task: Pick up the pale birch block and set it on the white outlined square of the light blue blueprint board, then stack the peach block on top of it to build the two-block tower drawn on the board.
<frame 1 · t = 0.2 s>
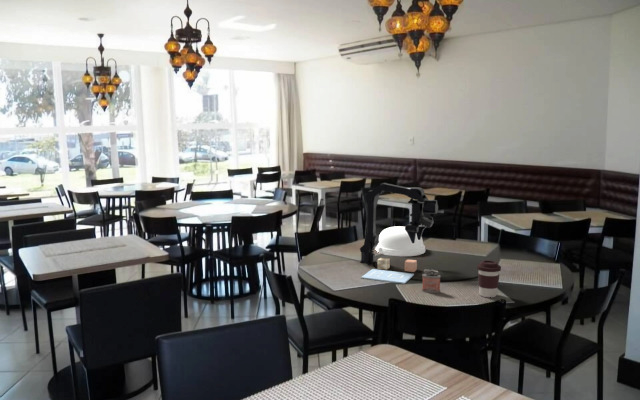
hand: (416, 241, 273), 14 cm above the table, tool pointing down, fingers open, 9 cm apart
birch block: (383, 268, 274), on the table
peach block: (410, 270, 270), on the table
coffee cup: (487, 295, 230), on the table
lighter: (431, 291, 236), on the table
dome cover: (400, 250, 314), on the table
blueprint board: (387, 276, 259), on the table
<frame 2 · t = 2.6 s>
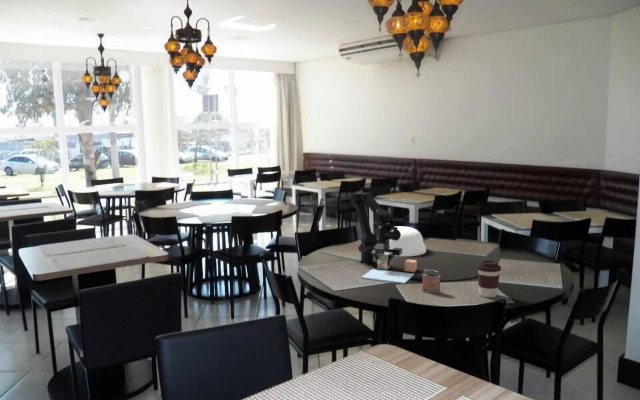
hand: (383, 266, 274), 1 cm above the table, tool pointing down, fingers closed on birch block, 5 cm apart
birch block: (383, 268, 274), on the table, touching gripper
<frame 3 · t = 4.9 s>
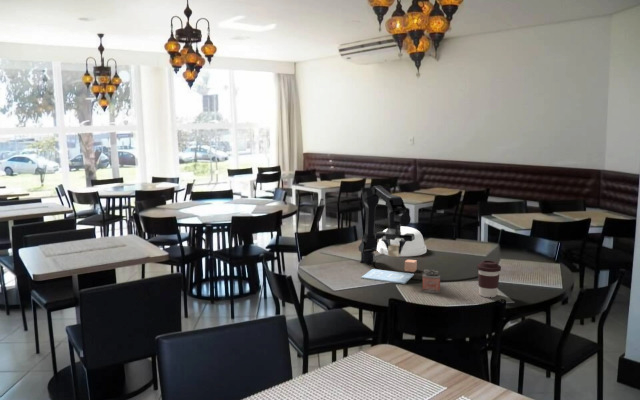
hand: (394, 253, 258), 12 cm above the table, tool pointing down, fingers closed on birch block, 5 cm apart
birch block: (394, 255, 258), point 11 cm above the table, touching gripper
when the fingers open (3 cm above the table, at t = 7.1 s): birch block drops 1 cm, resting on blueprint board.
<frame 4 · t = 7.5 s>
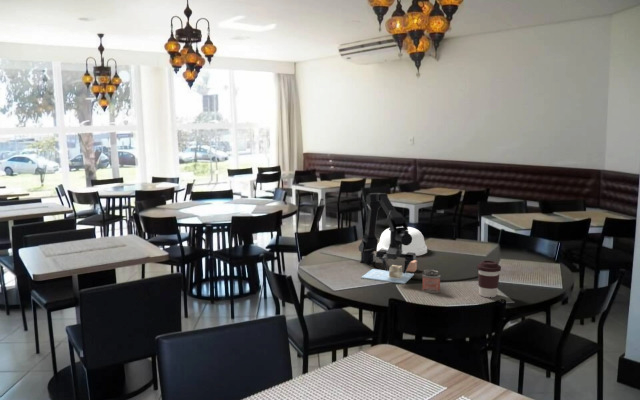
hand: (395, 272, 257), 3 cm above the table, tool pointing down, fingers open, 9 cm apart
birch block: (395, 276, 257), point 1 cm above the table, touching blueprint board
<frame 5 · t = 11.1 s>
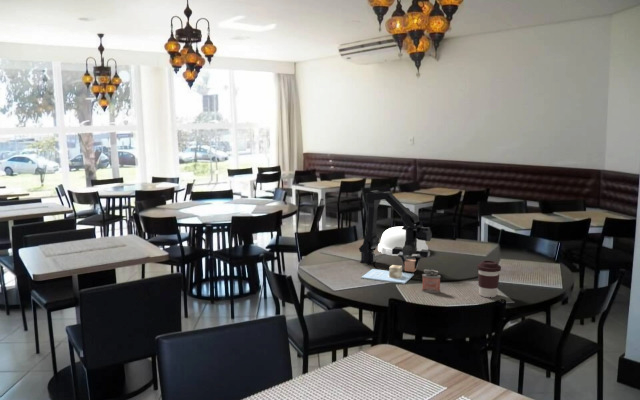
hand: (410, 268, 270), 1 cm above the table, tool pointing down, fingers closed on peach block, 5 cm apart
peach block: (410, 270, 270), on the table, touching gripper
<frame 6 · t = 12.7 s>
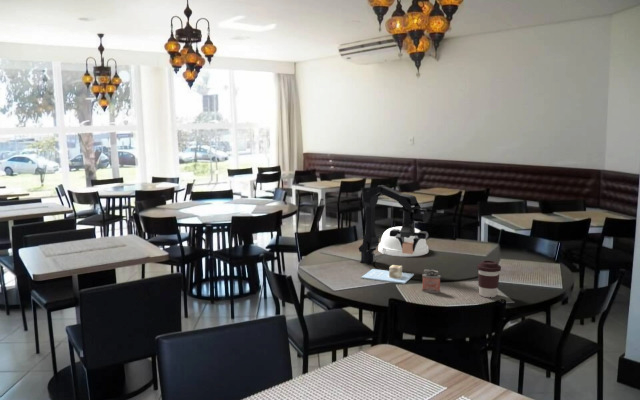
hand: (408, 250, 266), 11 cm above the table, tool pointing down, fingers closed on peach block, 5 cm apart
peach block: (408, 252, 266), point 10 cm above the table, touching gripper
when the fingers open (8 cm above the table, at t = 14.5 s): peach block drops 1 cm, resting on birch block.
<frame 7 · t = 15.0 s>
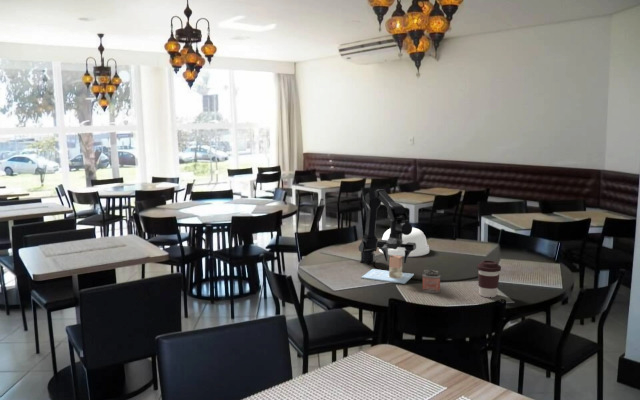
hand: (395, 262, 256), 8 cm above the table, tool pointing down, fingers open, 9 cm apart
birch block: (395, 276, 257), point 1 cm above the table, touching blueprint board, peach block
peach block: (395, 266, 256), point 6 cm above the table, touching birch block
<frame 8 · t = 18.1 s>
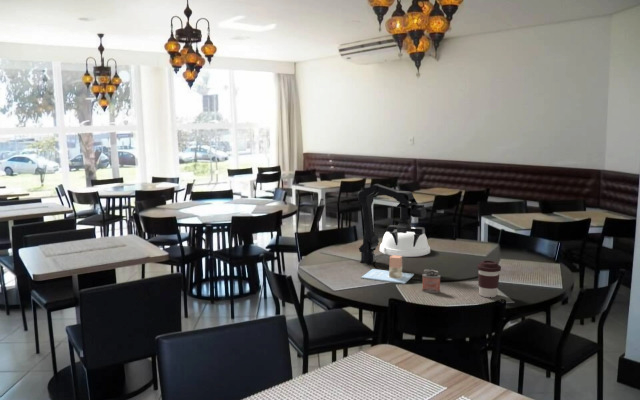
hand: (405, 246, 270), 12 cm above the table, tool pointing down, fingers open, 9 cm apart
at the end: birch block 0.0 cm from the target spot on the blueprint board, point 0.6 cm above the blueprint board's base; peach block 0.0 cm off-centre on the birch block, point 5.0 cm above the birch block's base; peach block tilted 0° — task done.
